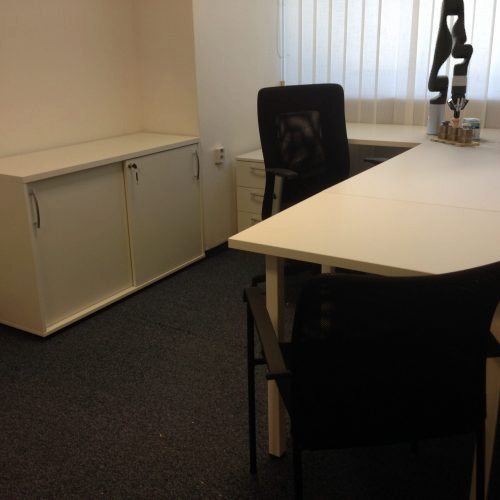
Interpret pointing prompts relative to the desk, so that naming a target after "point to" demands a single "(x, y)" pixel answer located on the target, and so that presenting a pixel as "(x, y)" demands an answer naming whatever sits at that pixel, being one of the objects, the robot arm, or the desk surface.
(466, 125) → the plug grey
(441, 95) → the robot arm
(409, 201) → the desk surface
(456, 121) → the plug terracotta
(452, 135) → the socket board
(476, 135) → the light bulb box
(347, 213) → the desk surface
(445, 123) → the peg
